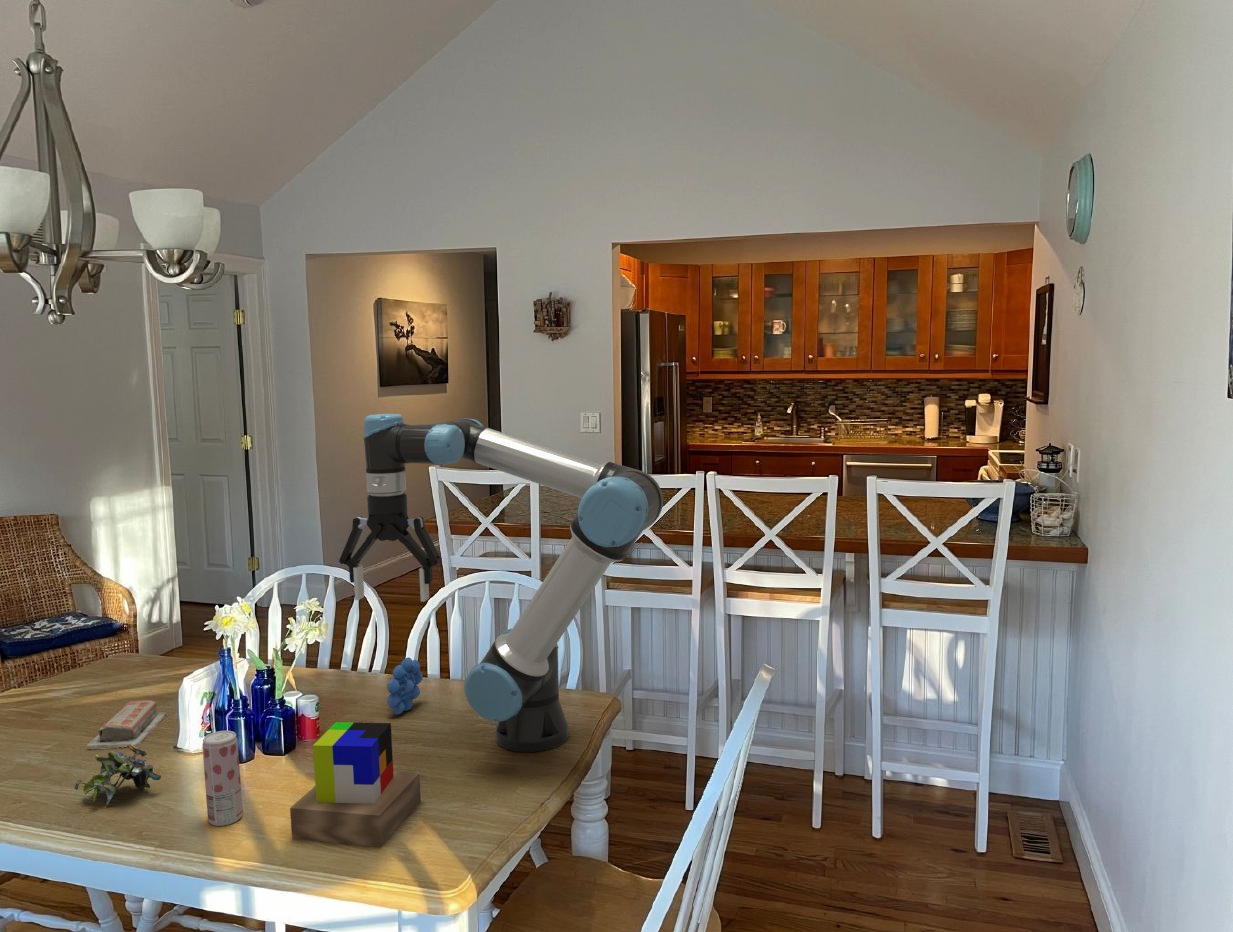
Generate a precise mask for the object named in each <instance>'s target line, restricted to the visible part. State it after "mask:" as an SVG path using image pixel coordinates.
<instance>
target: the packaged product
mask: <svg viewBox="0 0 1233 932" xmlns="http://www.w3.org/2000/svg"><path fill="white" fill-rule="evenodd" d="M165 715H166V716H167V712H166V711H165V712H157V701H154V700H152V699H144V700H143V699H142V700H130V701H127V702H126V703H125V704H124V705H123V706H122V707H121V708H120V709H118V710H117V712H116V713H114V714H113V715H112V716H111V717H110V718H109V719H108V720H107V721H106V722H105V723H104V724H103V725H102V726H100V728H99V730H98V735H96V736H95V737H94V738H93V739H91V740H90V741H89V743H87V744H86V747H87V750H88V749H100V748H117V747H127V745H133V746H137V745H138V744H139V745H140V744H142V742H143V741H144V740H145V739H146V738H147V737H148V736H149V734H151V732H153V731H154V730H155V728H157V727H158V725H159V724H160V722H162V720H163V719H164V718H165V717H166V716H165ZM145 737H146V738H145ZM144 738H145V739H144ZM139 745H138V746H139ZM138 746H137V747H138Z"/></svg>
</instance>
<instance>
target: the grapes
mask: <svg viewBox="0 0 1233 932" xmlns="http://www.w3.org/2000/svg"><path fill="white" fill-rule="evenodd" d="M420 670H421V665H420V661H418V660H417V659H414V660H413V659H412V658H411V657H406V658H404V659H403V660H402V661H401V663H400V664H398V665H396V666H395V667H394V668H393V671H392V677H393V678H392V679H391V680H390V681H389V682H388V683H387V684H386V685H387V686H386V688H387V692H388V693H389V694H390V695H389V696H388V697H387V699H386V702H387V705H388V707H389V708H392V712H393V713H394V714H395V715H400V714H402V713H403V712H408V711H410V709H412V707H413V705H414V702H413V700H415V699H417V698H418V697H419V695H420V694H421V690H420V689H421V688H420V687H419V684H421V682H422V681H423V679H424V676H423V673H422V672H421V671H420Z"/></svg>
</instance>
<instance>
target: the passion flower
mask: <svg viewBox="0 0 1233 932" xmlns="http://www.w3.org/2000/svg"><path fill="white" fill-rule="evenodd" d="M126 749H129V750H131V751H132V752H133V753H134V754H133V756H127V755H126V754H124V753H123V752H120V751H116V750H109V751H108V753H107V754H106V756H107V757H103V756H99V755H98V754H95V760H96V761H97V762H99V763H101V766H100V771H99V774H95V775H94V776H92V777H91V779H90V780H89V781H87V782H82V781H83V780H82V779H77V781H76V783H75V785H74V790H76V791H77V790H79V785H80V784H81V785H84V786H83V793H84V795H87V794H88V793H89V792H91V791H93V792H94V794H93V795H92V801H93V803H96V799H97V797H98V795H99V793H100V792H101V791H102V790H105V792H106V794H105V795H106V804H105V806H104V807H106V808H107V807H108V805H109V804H110V801H111V799H113V798H114V797H115V795H116V794H117V793H118V792H119V790H118V789H119V787H120V786H122V784H123V783H124V781H125V780H127V781H129V780H132V781H133V783H134V785H135V788H137V789H138V790H143V789H145V788H148V789H150V788H151V785H150V783H149V782H148V780H149V779H152V780H154V781H160V780H161V778H162V775H160V774H157V773H155V769H154V766H153V765H152V764H146V763H145V762H147V759H140V758H138V759H136V758H137V756H138V755H140V756H141V757H145V756H147V755H149V753H148V752H146V751H145V750H143V749H141V747H139V746H137V747H135V746H133V745H127V748H126ZM105 772H106V773H105ZM103 773H105V775H103ZM117 774H119V777H118V779H117V781H116V782H115V783H112V782H111V777H113V776H114V775H117ZM120 778H122V780H121V781H120V782H119V780H120ZM106 785H107V786H110V787H107V786H106Z"/></svg>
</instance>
